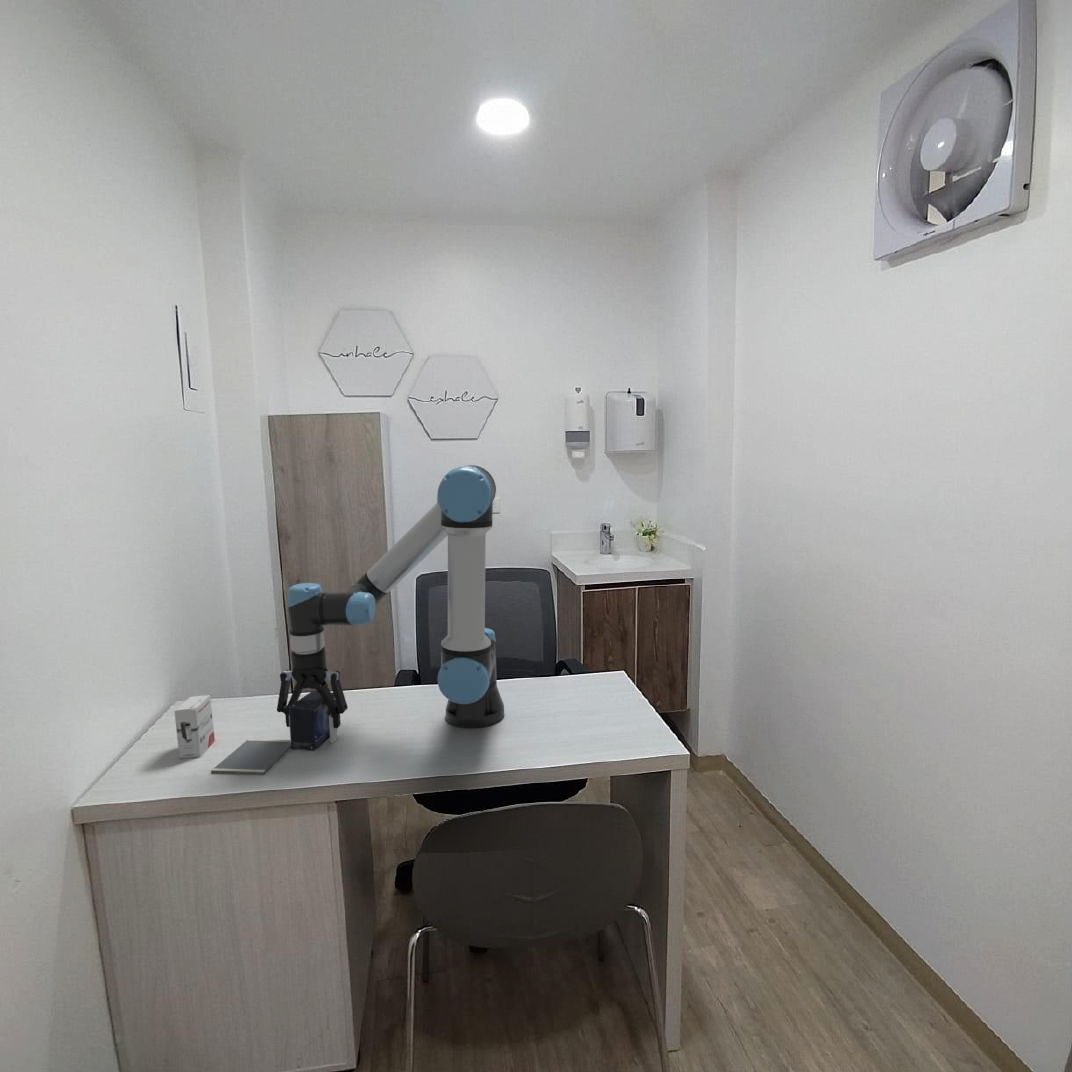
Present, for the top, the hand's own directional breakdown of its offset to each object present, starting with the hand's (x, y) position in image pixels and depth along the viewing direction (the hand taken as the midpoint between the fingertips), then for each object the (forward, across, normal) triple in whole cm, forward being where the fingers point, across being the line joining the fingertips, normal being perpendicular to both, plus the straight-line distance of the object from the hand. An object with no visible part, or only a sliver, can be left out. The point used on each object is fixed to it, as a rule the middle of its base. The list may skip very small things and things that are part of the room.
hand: (314, 739), depth 154 cm
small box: (+1, 0, 0) cm, 1 cm away
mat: (0, +10, +9) cm, 13 cm away
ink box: (+1, +26, +6) cm, 27 cm away
